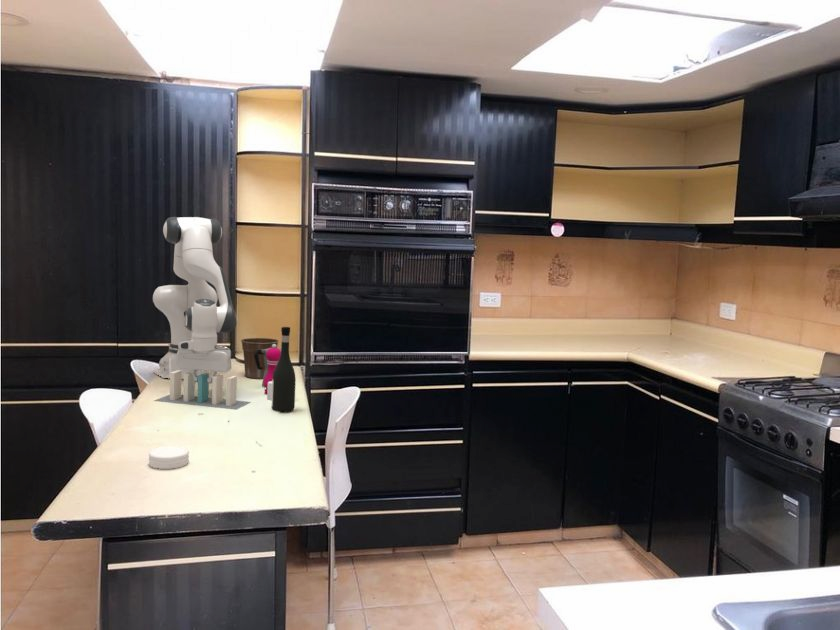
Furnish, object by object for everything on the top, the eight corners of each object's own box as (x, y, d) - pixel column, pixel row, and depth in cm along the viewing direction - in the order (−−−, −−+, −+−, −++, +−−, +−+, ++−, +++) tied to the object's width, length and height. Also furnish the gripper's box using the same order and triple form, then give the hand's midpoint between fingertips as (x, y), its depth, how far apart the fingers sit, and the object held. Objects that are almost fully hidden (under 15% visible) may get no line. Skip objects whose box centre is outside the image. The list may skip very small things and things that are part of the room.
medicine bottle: (279, 403, 248) (280, 372, 246) (266, 400, 252) (267, 369, 251) (293, 400, 253) (294, 369, 252) (281, 397, 258) (282, 366, 256)
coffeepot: (281, 382, 284) (283, 340, 283) (292, 386, 277) (294, 343, 275) (248, 385, 275) (249, 342, 273) (258, 390, 267) (259, 346, 266)
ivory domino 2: (183, 401, 242) (183, 374, 241) (190, 398, 247) (191, 371, 246) (187, 401, 242) (187, 374, 241) (194, 398, 247) (195, 372, 246)
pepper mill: (277, 397, 258) (279, 346, 256) (259, 395, 259) (261, 344, 257) (284, 393, 265) (286, 343, 263) (267, 391, 266) (269, 341, 264)
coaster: (175, 455, 185) (176, 443, 185) (196, 464, 179) (196, 451, 179) (141, 463, 178) (141, 450, 177) (161, 473, 171) (161, 459, 171)
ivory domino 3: (211, 404, 240) (212, 376, 239) (218, 401, 245) (219, 374, 244) (215, 404, 240) (216, 377, 239) (222, 401, 245) (223, 374, 244)
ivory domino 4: (225, 405, 239) (226, 378, 238) (232, 402, 244) (232, 375, 243) (229, 406, 239) (230, 378, 238) (236, 403, 244) (237, 376, 243)
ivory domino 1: (169, 399, 243) (170, 372, 242) (177, 396, 248) (177, 370, 247) (173, 400, 243) (174, 373, 242) (181, 397, 248) (181, 370, 247)
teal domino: (197, 402, 241) (197, 375, 240) (204, 399, 246) (205, 372, 245) (201, 403, 241) (202, 375, 240) (208, 400, 246) (209, 373, 245)
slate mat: (153, 401, 240) (153, 400, 240) (171, 394, 252) (171, 393, 252) (236, 410, 235) (236, 409, 235) (251, 403, 247) (251, 401, 246)
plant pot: (237, 373, 298) (237, 337, 296) (273, 372, 305) (274, 337, 303) (243, 380, 284) (244, 343, 282) (281, 379, 290) (282, 342, 289)
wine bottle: (266, 410, 237) (269, 326, 234) (281, 406, 244) (284, 325, 241) (284, 414, 234) (287, 329, 230) (298, 409, 241) (302, 327, 237)
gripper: (235, 345, 243) (234, 383, 244) (183, 341, 246) (182, 378, 248) (226, 348, 236) (226, 386, 238) (174, 343, 240) (173, 381, 241)
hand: (203, 382), depth 243 cm, fingers open, 4 cm apart
